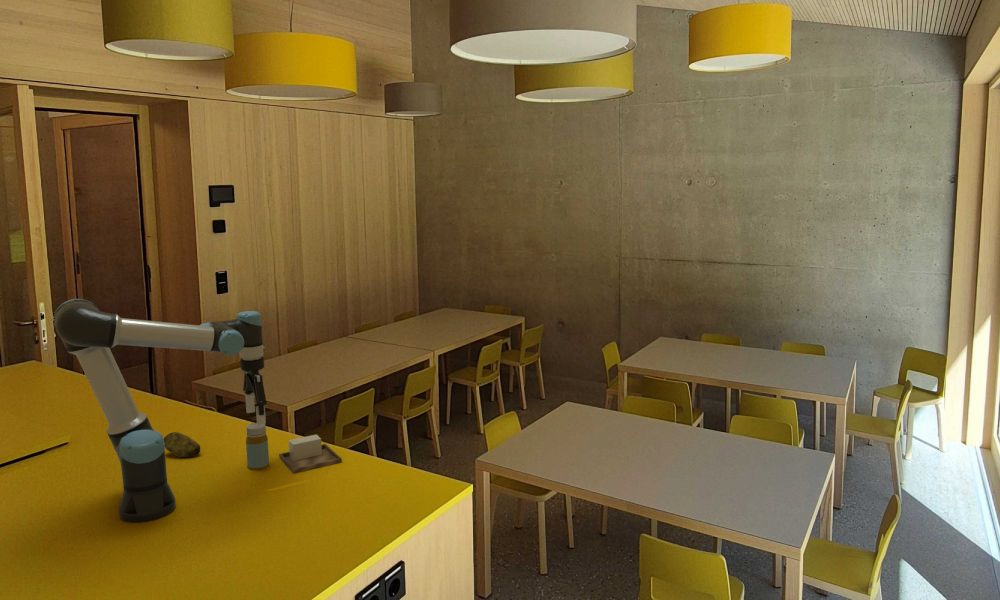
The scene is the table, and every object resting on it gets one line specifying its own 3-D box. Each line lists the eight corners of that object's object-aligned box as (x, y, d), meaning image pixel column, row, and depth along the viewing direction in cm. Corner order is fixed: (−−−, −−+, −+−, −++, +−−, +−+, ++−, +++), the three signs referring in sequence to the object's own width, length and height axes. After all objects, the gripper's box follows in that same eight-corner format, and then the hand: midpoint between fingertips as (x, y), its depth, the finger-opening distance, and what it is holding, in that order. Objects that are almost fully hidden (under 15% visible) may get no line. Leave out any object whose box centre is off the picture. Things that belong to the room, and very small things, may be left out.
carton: (294, 460, 241) (293, 444, 240) (289, 456, 245) (288, 440, 244) (321, 454, 247) (321, 438, 246) (317, 450, 251) (316, 434, 250)
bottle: (255, 473, 232) (252, 431, 230) (243, 468, 237) (240, 426, 234) (273, 466, 238) (271, 425, 235) (261, 461, 242) (258, 420, 239)
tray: (293, 475, 231) (293, 469, 231) (279, 459, 244) (279, 453, 244) (341, 463, 240) (341, 458, 240) (325, 449, 253) (325, 443, 253)
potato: (183, 462, 241) (181, 441, 239) (160, 455, 247) (158, 434, 246) (203, 454, 248) (202, 433, 247) (181, 447, 254) (179, 427, 253)
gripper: (274, 363, 222) (277, 426, 226) (253, 348, 243) (257, 405, 247) (250, 367, 218) (254, 431, 222) (231, 351, 239) (235, 409, 242)
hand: (256, 418), depth 234 cm, fingers open, 13 cm apart
